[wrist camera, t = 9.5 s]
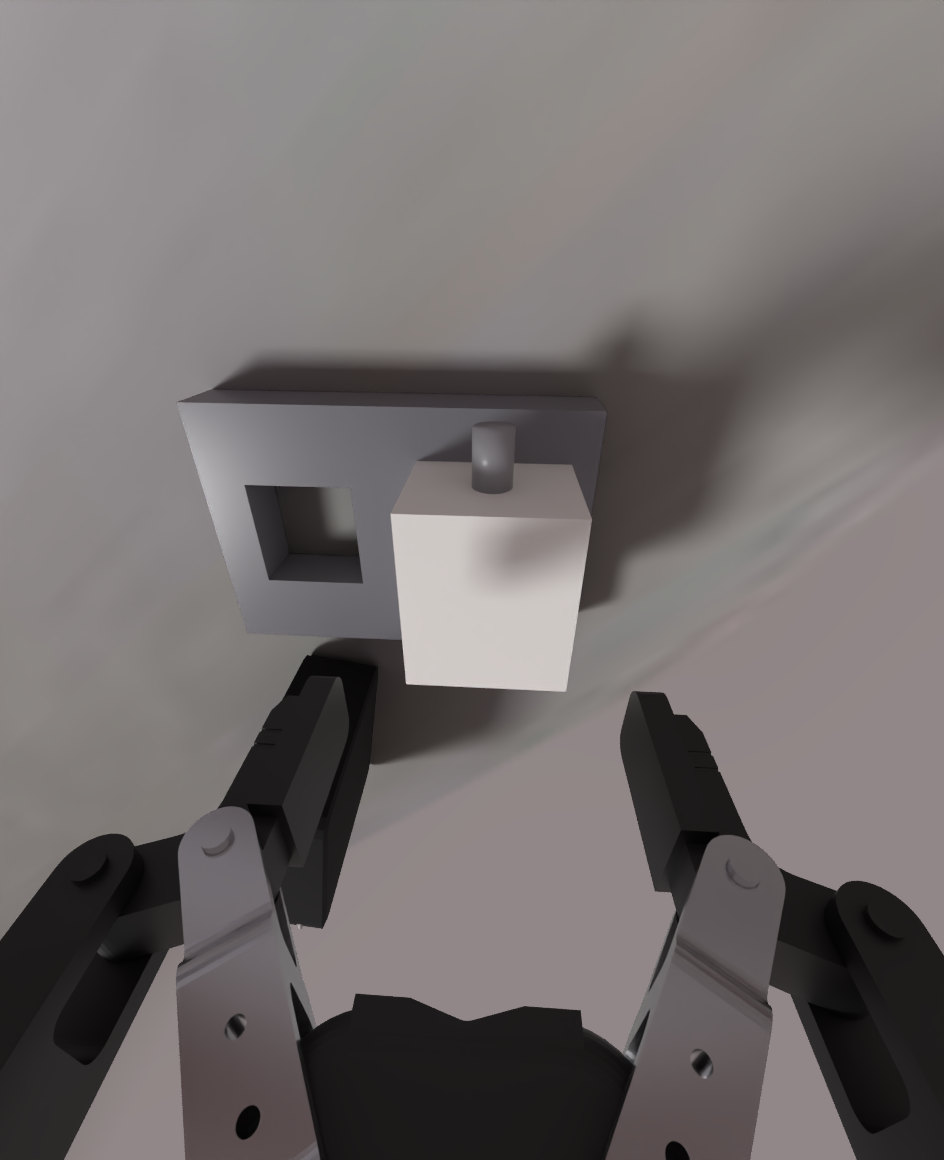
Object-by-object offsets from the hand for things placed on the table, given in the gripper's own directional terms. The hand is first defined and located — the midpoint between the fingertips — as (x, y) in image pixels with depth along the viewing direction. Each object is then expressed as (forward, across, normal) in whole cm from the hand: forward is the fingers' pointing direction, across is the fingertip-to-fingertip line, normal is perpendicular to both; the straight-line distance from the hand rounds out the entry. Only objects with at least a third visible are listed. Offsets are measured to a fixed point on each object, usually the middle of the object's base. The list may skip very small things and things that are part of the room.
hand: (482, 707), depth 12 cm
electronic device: (+12, +9, +14) cm, 20 cm away
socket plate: (+12, +4, 0) cm, 12 cm away
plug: (+11, 0, 0) cm, 11 cm away
